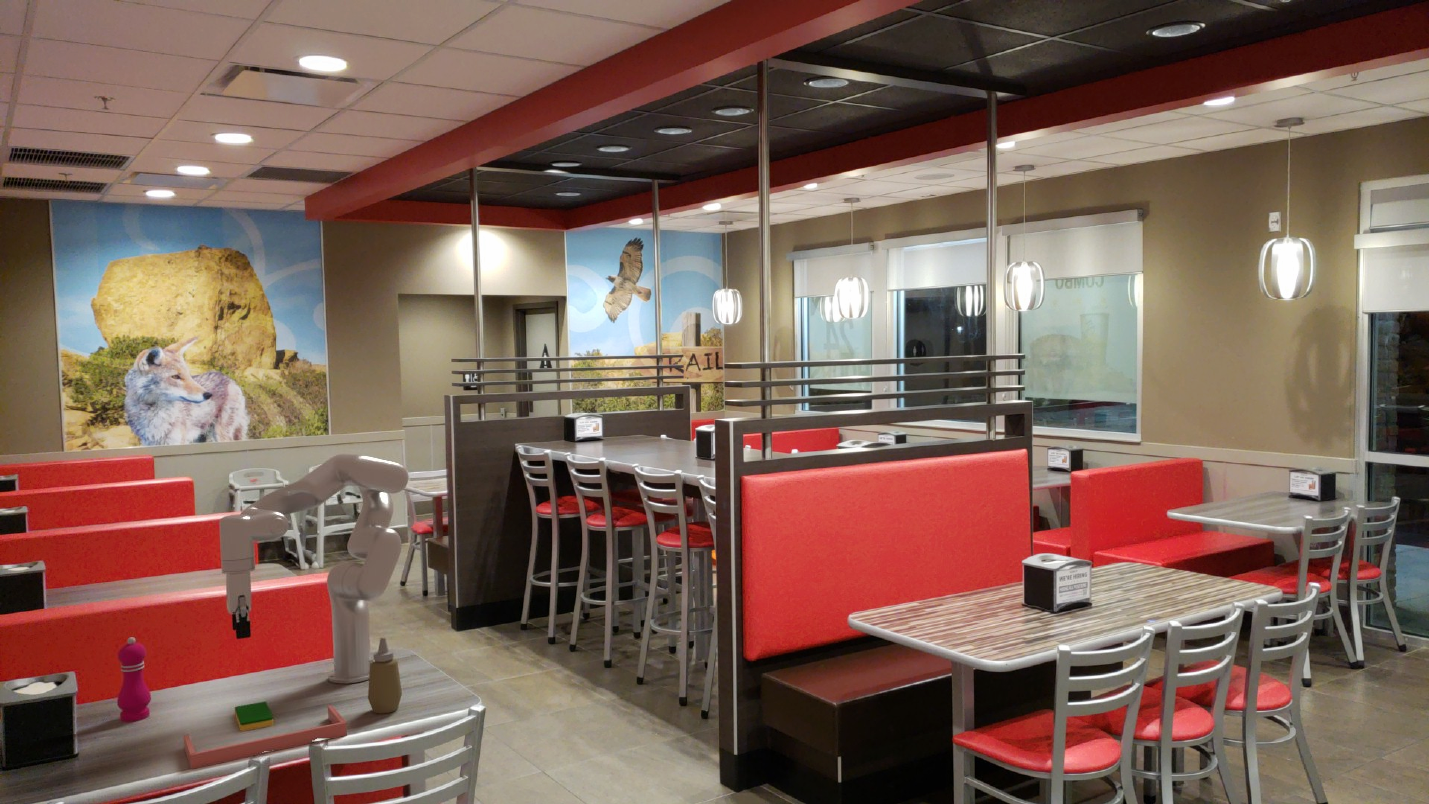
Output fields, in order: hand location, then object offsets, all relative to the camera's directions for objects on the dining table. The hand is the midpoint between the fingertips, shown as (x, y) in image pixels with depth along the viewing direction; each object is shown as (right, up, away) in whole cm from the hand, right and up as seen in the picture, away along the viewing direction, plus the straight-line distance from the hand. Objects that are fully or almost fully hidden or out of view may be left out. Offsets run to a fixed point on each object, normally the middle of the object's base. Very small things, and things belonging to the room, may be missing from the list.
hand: (241, 633), depth 248 cm
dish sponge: (+5, -21, -5) cm, 22 cm away
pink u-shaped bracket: (+15, -20, -20) cm, 32 cm away
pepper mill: (-26, -21, -1) cm, 33 cm away
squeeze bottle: (+36, -19, 0) cm, 41 cm away
